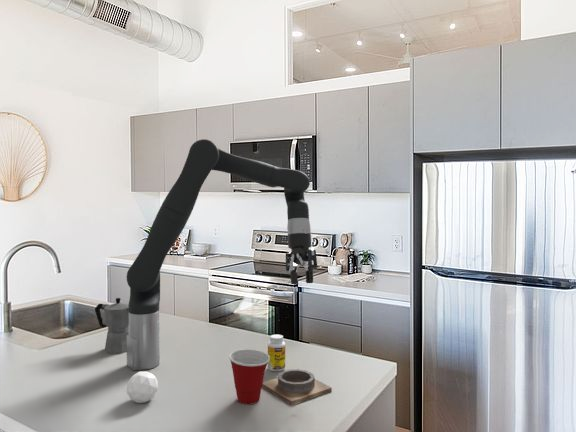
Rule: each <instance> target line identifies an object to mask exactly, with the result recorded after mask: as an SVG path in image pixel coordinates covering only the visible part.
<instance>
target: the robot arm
mask: <svg viewBox="0 0 576 432" xmlns="http://www.w3.org/2000/svg"><path fill="white" fill-rule="evenodd" d="M211 171H217V172H222V173H226V174H230V175H234V176H236V177H239V178H242V179H243V180H244V179H245V180H247V181H250V182H253V183H256V184H259V185H262V186H265V187H269V188H283V193H284V199H285V203H286V206H287V208H286V209H287V210H286V211H287V212H286V213H287V245H288V249H290V250H291V252H286V253H285V270H286V272H288V273H290V274H289V276H290V285H297V284H298V282H299V281H298V280H299V279H298V269H299V268H300V267H301V266H303V267H304V269H305V283H306V284H312V283H314V271H315V269H318V259H317V249H315V248H311V247H312V235H311V234H312V232H311V229H312V228H311V223H310V214H309V213H310V212H309V210H310V209H309V205H308V202H306V201H305V192H306V191H307V190H308V189H309V187H310V184H311V183H310V181H311V180H310V178H309V176H308V175H307V174H306V173H305V172H303V171H301V170H297V169H292V168H285V167H279V166H276V165H272V164H270V163H266V162H264V161H259V160H256V159H251V158H247V157H243V156H238V155H235V154H232V153H229V152H226V150H222V149H221V148H219V147H218V146H217V145H216V143H215V142H213V140H211V139H210V140H209V139H207V138H206V139H199V140H196V141H195V142H193V143H192V144H191V146H190V147H189V150H188V155H187V157H186V160H185V162H184V165H183V167H182V170H181V173H180V174H179V175H178V178H177V180H176V181H175V182H174V184H173V186H172V187H171V188H170V190H169V191H168V193H167V195H166V196H165V198H164V200H163V202H162V204H161V206H160V207H159V209H158V212H157V214H156V215H155V217H154V220H153V223H152V225H151V227H150V229H149V231H148V235H147V238H146V240H145V243H144V244H143V246H142V249H141V251H139V253H138V255H137V257H136V258H135V259H134V261H133V263H132V264H131V266H130V267H129V268H128V270H127V272H126V282H127V285H128V287H129V288H130V289H129V292H130V293H129V301H128V304H129V305H128V310H129V335H127V352H126V366H128V368H130V369H131V371H142V370H143V371H146V370H150V369H153V368H156V367H158V366H159V365H160V363H161V362H160V359H161V355H160V354H161V352H160V348H161V347H160V301H161V268H162V266H163V264H164V262H165V259H166V257H167V255H168V253H169V252H170V250H171V249H172V248H173V246H174V245H175V243H176V242H177V240H178V239H179V237H180V235H181V234H182V232H183V230H184V229H185V227H186V224H187V223H188V221H189V219H190V216H191V215H192V212H193V210H194V207H195V205H196V203H197V200H198V198H199V197H198V196H199V194H200V191H201V188H202V186H203V185H204V183H205V181H206V180H207V178H208V176H209V174H210V173H211Z"/></svg>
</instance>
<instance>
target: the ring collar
mask: <svg viewBox="0 0 576 432" xmlns="http://www.w3.org/2000/svg"><path fill="white" fill-rule="evenodd" d="M262 388H263V389H265V390H267V391H268V392H270V393H271V394H272V395H274V396H276V397H277V398H279V399H281V400H283V401H284V402H286V403H287V404H289V405H290V406H294V405H296V404H299V403H302V402H305V401H308V400H310V399H313V398H315V397H318V396H322V395H324V394H328V393H330V392H332V391H333V390H332V389H333V388H332V386H330V385H327V384H326V383H324V382H322V381H319V380H318V379H316V378H315V375H314V374H313V373H312V372H311V371H308V370H305V369H299V368H297V369H287V370H284V371H283V370H282V371H280V373H279V374H278V375H277V378H273V379H270V380H266V381H263V384H262Z"/></svg>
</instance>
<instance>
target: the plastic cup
mask: <svg viewBox="0 0 576 432" xmlns="http://www.w3.org/2000/svg"><path fill="white" fill-rule="evenodd" d="M228 358H229V361H230V365H231V369H232V375H233V381H234V388H235V393H236V397H237V401H238V402H239V403H240V404H243V405H253V404H256V403H258V402H259V401H260V398H261V392H262V388H263V387H262V384H263V382H264V377H265V373H266V372H265V371H266V369H267V365H268V362H269V360H270V356H269V355H268V353H266V352H264V351H262V350H258V349H254V348H253V349H252V348H242V349H237V350H233V351H232V352H231V353H229V356H228Z"/></svg>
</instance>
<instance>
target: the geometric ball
mask: <svg viewBox="0 0 576 432" xmlns="http://www.w3.org/2000/svg"><path fill="white" fill-rule="evenodd" d="M158 386H159V381H158V379H157V377H156V376H155V374H153V373H151V372H149V371H146V370H143V371H142V370H139V371H138V372H136V373H135V374H133V375H132V376H131V377H130V379H129V380H128V381H127V383H126V394H127V395H128V398H129V399H130V400H131V401H133V402H135V403H137V404H143V403H144V404H145V403H147V402H149V401H150V400H152V399H153V398H154V397H155V396H156V393H157V391H158Z"/></svg>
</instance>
